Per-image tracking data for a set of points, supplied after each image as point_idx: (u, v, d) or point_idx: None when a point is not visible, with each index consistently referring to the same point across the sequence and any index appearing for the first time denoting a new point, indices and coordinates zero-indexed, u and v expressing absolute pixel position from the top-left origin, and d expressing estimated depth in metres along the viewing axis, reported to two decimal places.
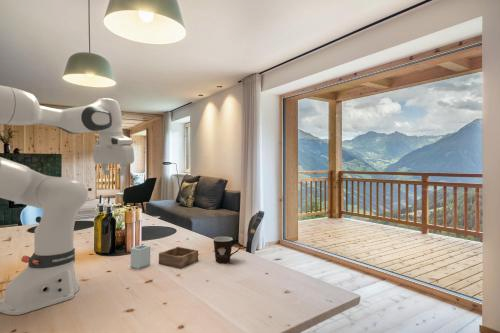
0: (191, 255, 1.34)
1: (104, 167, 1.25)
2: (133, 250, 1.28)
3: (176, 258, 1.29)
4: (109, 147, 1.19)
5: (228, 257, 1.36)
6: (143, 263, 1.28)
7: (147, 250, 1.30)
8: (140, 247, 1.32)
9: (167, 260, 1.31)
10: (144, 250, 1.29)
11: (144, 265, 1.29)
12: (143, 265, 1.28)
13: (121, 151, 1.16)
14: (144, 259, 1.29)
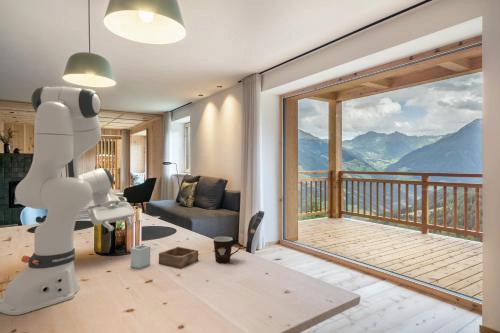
0: (191, 255, 1.34)
1: None
2: (133, 250, 1.28)
3: (176, 258, 1.29)
4: (115, 204, 1.40)
5: (228, 257, 1.36)
6: (143, 263, 1.28)
7: (147, 250, 1.30)
8: (140, 247, 1.32)
9: (167, 260, 1.31)
10: (144, 250, 1.29)
11: (144, 265, 1.29)
12: (143, 265, 1.28)
13: (127, 206, 1.45)
14: (144, 259, 1.29)
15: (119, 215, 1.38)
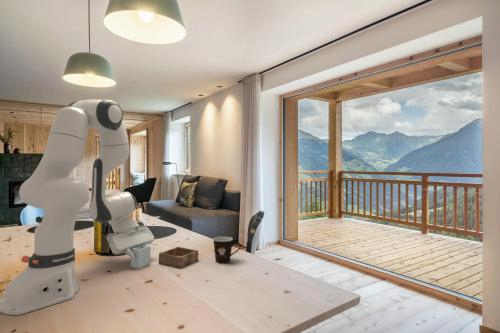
0: (191, 255, 1.34)
1: None
2: (133, 250, 1.28)
3: (176, 258, 1.29)
4: (135, 230, 1.34)
5: (228, 257, 1.36)
6: (143, 263, 1.28)
7: (147, 250, 1.30)
8: (140, 247, 1.32)
9: (167, 260, 1.31)
10: (144, 250, 1.29)
11: (144, 265, 1.29)
12: (143, 265, 1.28)
13: (146, 231, 1.39)
14: (144, 259, 1.29)
15: (139, 242, 1.32)
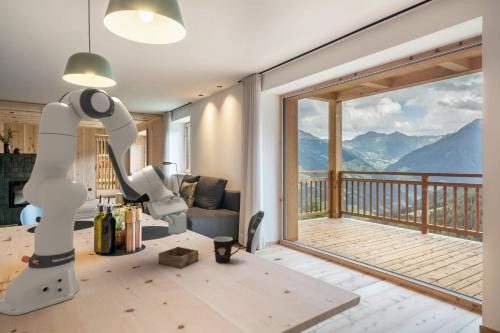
0: (191, 255, 1.34)
1: None
2: (171, 217, 1.33)
3: (176, 258, 1.29)
4: (171, 199, 1.40)
5: (228, 257, 1.36)
6: (180, 229, 1.34)
7: (184, 217, 1.36)
8: (176, 215, 1.38)
9: (167, 260, 1.31)
10: (181, 217, 1.34)
11: (181, 231, 1.34)
12: (180, 231, 1.34)
13: (181, 201, 1.44)
14: (182, 226, 1.35)
15: (175, 210, 1.37)
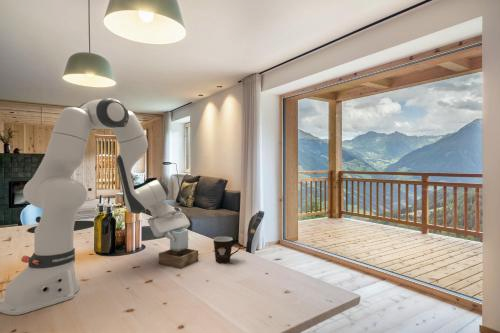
0: (191, 255, 1.34)
1: None
2: (172, 233, 1.34)
3: (176, 258, 1.29)
4: (172, 215, 1.40)
5: (228, 257, 1.36)
6: (182, 246, 1.34)
7: (185, 233, 1.36)
8: (178, 231, 1.38)
9: (167, 260, 1.31)
10: (183, 233, 1.34)
11: (183, 248, 1.35)
12: (182, 248, 1.34)
13: (182, 216, 1.45)
14: (183, 242, 1.35)
15: (177, 226, 1.38)
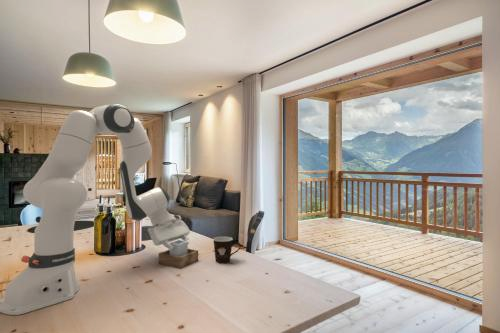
0: (191, 255, 1.34)
1: None
2: None
3: (176, 258, 1.29)
4: (172, 223, 1.40)
5: (228, 257, 1.36)
6: None
7: (185, 245, 1.36)
8: (178, 242, 1.38)
9: (167, 260, 1.31)
10: (182, 245, 1.34)
11: None
12: None
13: (182, 224, 1.45)
14: (183, 254, 1.35)
15: (177, 234, 1.37)
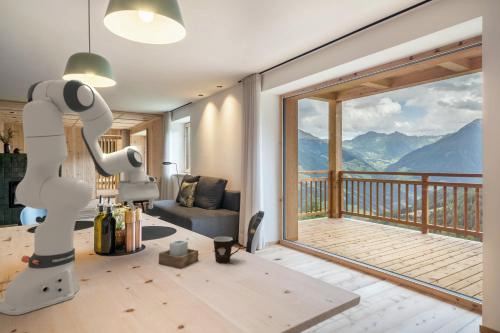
0: (191, 255, 1.34)
1: None
2: (172, 245, 1.33)
3: (176, 258, 1.29)
4: (144, 184, 1.43)
5: (228, 257, 1.36)
6: None
7: (185, 245, 1.36)
8: (178, 242, 1.38)
9: (167, 260, 1.31)
10: (182, 245, 1.34)
11: None
12: None
13: (154, 187, 1.48)
14: (183, 254, 1.35)
15: (144, 196, 1.42)
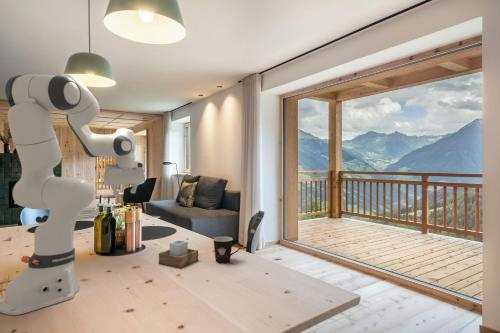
0: (191, 255, 1.34)
1: None
2: (172, 245, 1.33)
3: (176, 258, 1.29)
4: (131, 170, 1.42)
5: (228, 257, 1.36)
6: None
7: (185, 245, 1.36)
8: (178, 242, 1.38)
9: (167, 260, 1.31)
10: (182, 245, 1.34)
11: None
12: None
13: (141, 173, 1.47)
14: (183, 254, 1.35)
15: (129, 182, 1.42)
